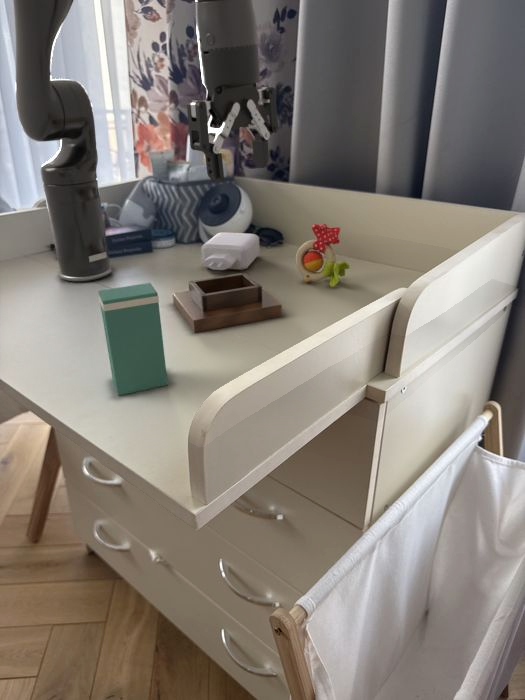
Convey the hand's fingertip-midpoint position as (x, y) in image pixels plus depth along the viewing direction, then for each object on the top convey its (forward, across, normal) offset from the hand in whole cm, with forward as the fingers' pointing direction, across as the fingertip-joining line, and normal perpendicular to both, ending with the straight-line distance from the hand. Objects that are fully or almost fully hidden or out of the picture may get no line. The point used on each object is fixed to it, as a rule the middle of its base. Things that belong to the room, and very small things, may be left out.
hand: (239, 173), depth 77 cm
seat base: (+21, +4, -2) cm, 21 cm away
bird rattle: (+23, -16, +2) cm, 28 cm away
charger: (+23, -11, -18) cm, 31 cm away
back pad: (+18, +26, +8) cm, 33 cm away
